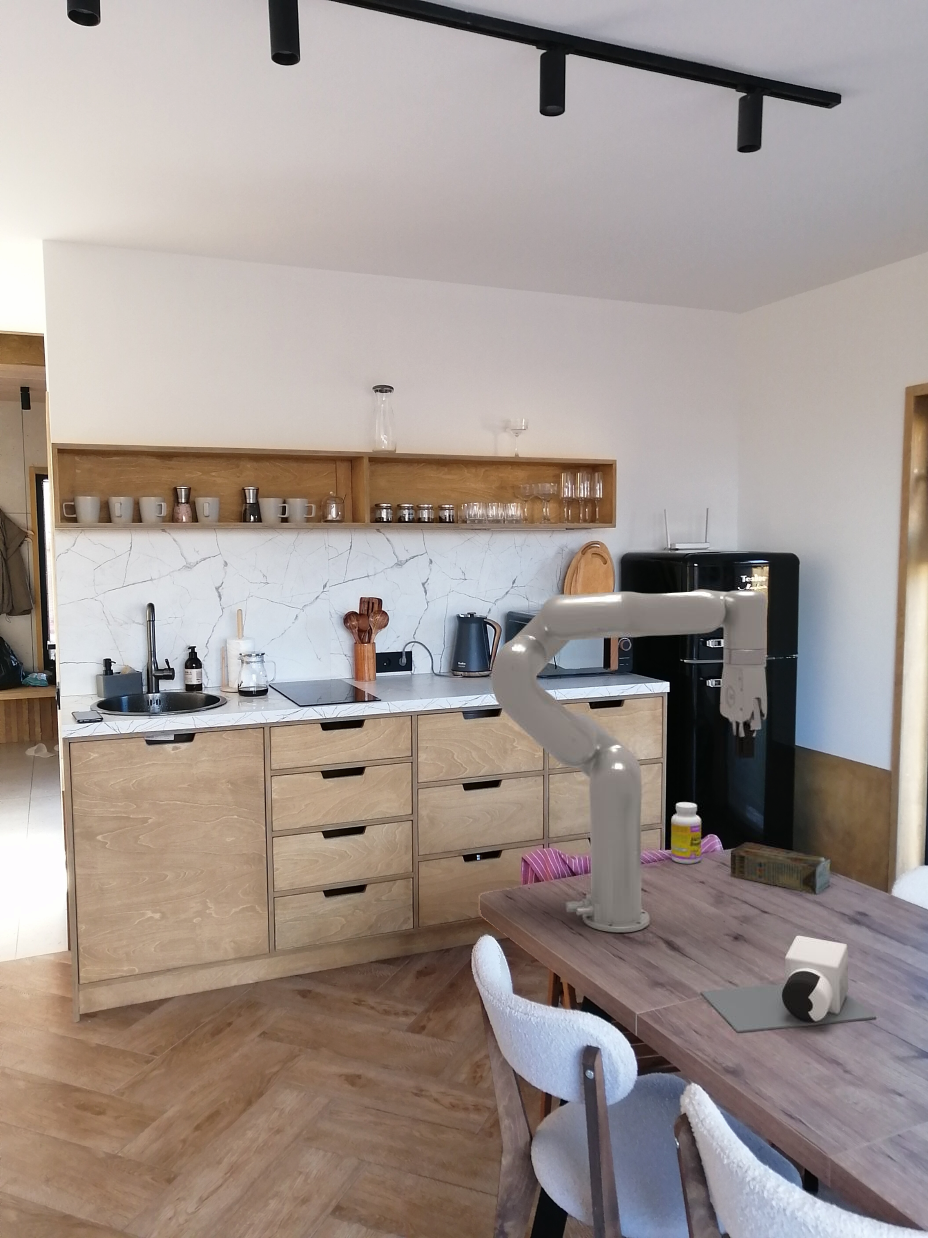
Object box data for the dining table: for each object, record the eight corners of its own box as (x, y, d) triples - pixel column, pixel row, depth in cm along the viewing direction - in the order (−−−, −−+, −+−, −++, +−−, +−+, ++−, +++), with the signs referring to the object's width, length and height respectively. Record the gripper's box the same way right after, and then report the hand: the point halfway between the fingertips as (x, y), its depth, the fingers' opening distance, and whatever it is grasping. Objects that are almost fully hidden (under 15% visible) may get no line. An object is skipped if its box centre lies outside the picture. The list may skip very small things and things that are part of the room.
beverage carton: (816, 896, 195) (817, 864, 195) (728, 878, 208) (728, 848, 207) (831, 886, 201) (831, 855, 201) (744, 868, 214) (744, 839, 213)
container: (797, 979, 154) (777, 1022, 143) (796, 934, 152) (775, 973, 142) (848, 990, 150) (831, 1034, 139) (847, 943, 148) (830, 985, 138)
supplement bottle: (691, 866, 215) (691, 810, 214) (665, 860, 219) (665, 805, 218) (706, 859, 220) (706, 804, 219) (680, 854, 224) (680, 799, 223)
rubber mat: (737, 1033, 139) (737, 1031, 139) (700, 993, 152) (700, 991, 152) (876, 1019, 143) (876, 1017, 143) (828, 981, 155) (828, 979, 155)
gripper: (708, 654, 182) (707, 750, 183) (744, 662, 168) (743, 766, 169) (745, 653, 184) (744, 748, 185) (784, 661, 169) (783, 764, 170)
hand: (744, 757), depth 177 cm, fingers closed
